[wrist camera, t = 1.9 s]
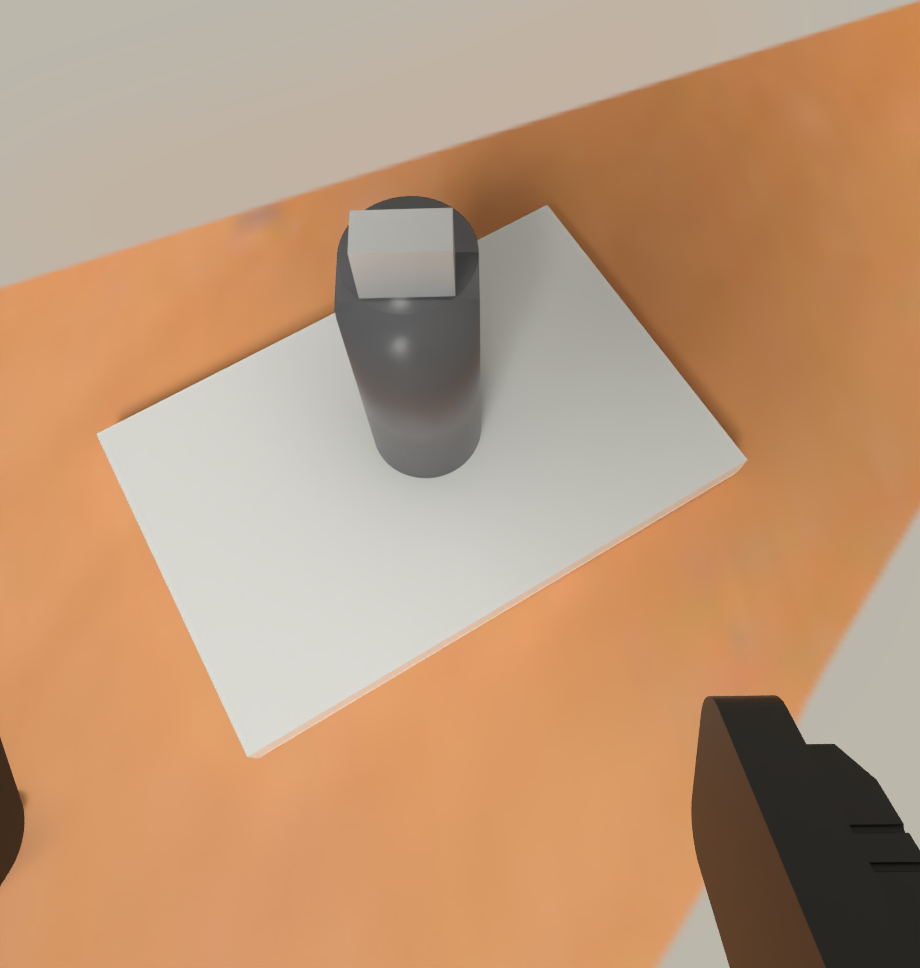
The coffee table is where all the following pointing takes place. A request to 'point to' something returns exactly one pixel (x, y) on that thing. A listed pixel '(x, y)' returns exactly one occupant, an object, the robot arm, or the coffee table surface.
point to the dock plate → (407, 488)
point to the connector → (413, 330)
